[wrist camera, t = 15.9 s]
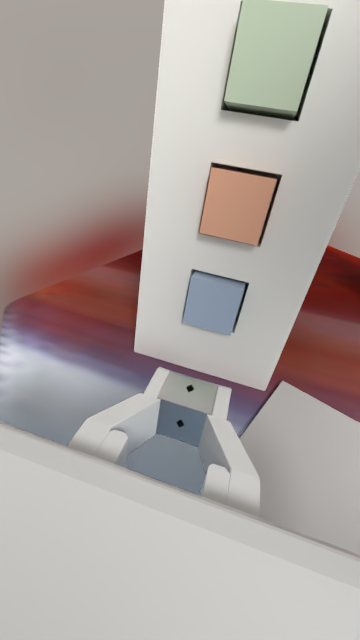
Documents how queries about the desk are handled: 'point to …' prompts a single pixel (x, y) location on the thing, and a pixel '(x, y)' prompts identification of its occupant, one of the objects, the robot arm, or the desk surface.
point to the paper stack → (307, 467)
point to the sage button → (273, 57)
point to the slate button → (213, 302)
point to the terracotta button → (236, 205)
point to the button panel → (250, 157)
